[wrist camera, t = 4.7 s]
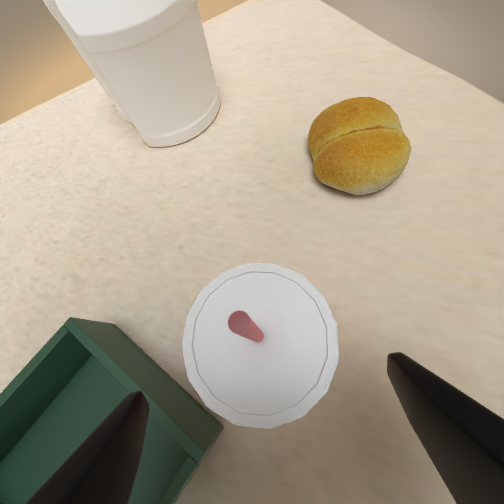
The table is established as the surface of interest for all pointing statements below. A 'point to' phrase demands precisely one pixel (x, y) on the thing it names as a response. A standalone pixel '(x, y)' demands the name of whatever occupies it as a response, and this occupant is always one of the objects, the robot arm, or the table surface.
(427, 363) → the table surface
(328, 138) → the bread roll
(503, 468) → the robot arm
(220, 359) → the beverage cup
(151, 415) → the square green tray
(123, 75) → the jar
